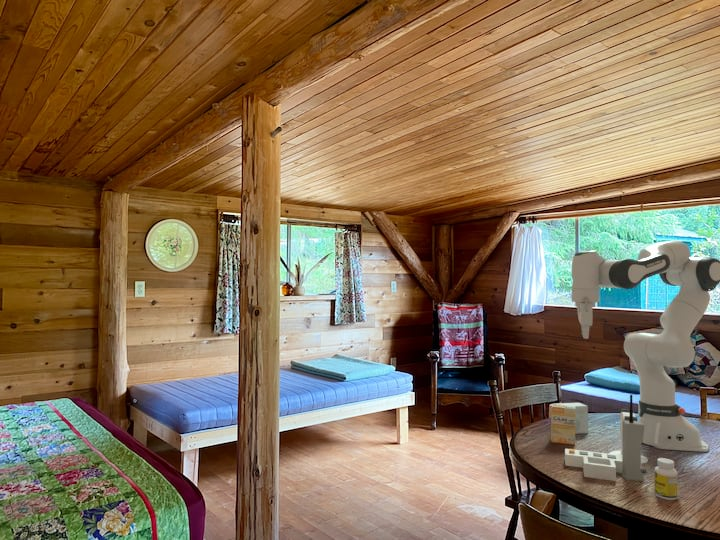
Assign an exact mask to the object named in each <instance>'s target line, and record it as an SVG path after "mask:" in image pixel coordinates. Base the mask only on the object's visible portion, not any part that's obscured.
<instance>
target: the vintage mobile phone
mask: <svg viewBox="0 0 720 540" xmlns="http://www.w3.org/2000/svg"><path fill="white" fill-rule="evenodd" d="M629 409H630V420H629V421H627V420H623V421H622V473H621V474H622V476H623V478H624V479H625V480H626V481H632V482H645V476H644V474H643V472H641V469H642V467H641V466H642V464H641V455H642V444H643V443H642V442H643V435H644V424H643V423H642V422H641V421H639V420H637V421H633V413H634V411H633V394H629Z"/></svg>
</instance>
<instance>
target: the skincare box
mask: <svg viewBox="0 0 720 540" xmlns="http://www.w3.org/2000/svg"><path fill="white" fill-rule="evenodd" d="M554 404H557V405H567V406H575V408H576V421H575V435H576V434H577V435H578V434H589V416H588V415H589V407H588V405H586V404H585V403H582V402H563V403H561V402H560V403H558V402H557V403H554Z"/></svg>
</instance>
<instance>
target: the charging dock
mask: <svg viewBox="0 0 720 540" xmlns="http://www.w3.org/2000/svg"><path fill="white" fill-rule="evenodd" d="M564 465H565V466H567V467H573V468H582V470H583V476H584V478H589V479H590V478H591V479H596V480H597V479H598V480H605V481H611V482H617V473H620V474H622V455H615V454H609V453H606V452H597V451H591V450H589V451H588V450H581V449H574V448H565V449H564ZM641 472H642V474H643V473H644V474H646V473H647V469H645V468H641Z"/></svg>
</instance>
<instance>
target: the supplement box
mask: <svg viewBox="0 0 720 540" xmlns="http://www.w3.org/2000/svg"><path fill="white" fill-rule="evenodd" d="M550 414H551V416H550V417H551V419H550V420H551V421H550V422H551V423H550V425H551V426H550V427H551V428H550V442H551V443H557V444H562V445H563V444H565V445H573V446H575V445H576V434H575V421H576V408H575V406H567V405H557V404H555V403H551V413H550Z"/></svg>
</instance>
